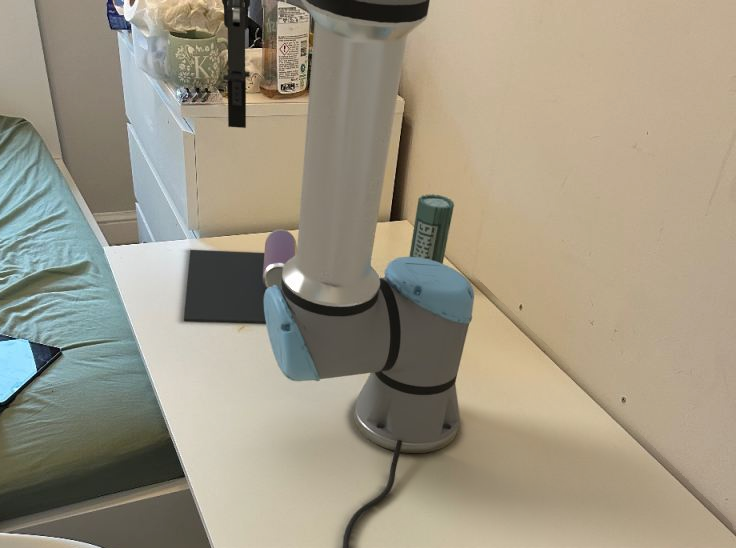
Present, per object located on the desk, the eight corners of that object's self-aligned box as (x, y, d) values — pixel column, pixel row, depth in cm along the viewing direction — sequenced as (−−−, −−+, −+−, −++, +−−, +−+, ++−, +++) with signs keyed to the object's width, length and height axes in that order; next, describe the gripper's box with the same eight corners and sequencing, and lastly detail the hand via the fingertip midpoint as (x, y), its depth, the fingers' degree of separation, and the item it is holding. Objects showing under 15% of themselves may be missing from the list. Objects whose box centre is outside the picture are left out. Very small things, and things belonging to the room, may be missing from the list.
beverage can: (285, 258, 126) (287, 222, 136) (255, 273, 127) (259, 237, 138) (302, 287, 129) (302, 250, 140) (273, 301, 131) (275, 264, 142)
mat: (292, 324, 125) (292, 322, 124) (183, 320, 122) (183, 318, 122) (284, 255, 143) (284, 253, 143) (190, 251, 140) (190, 249, 140)
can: (442, 278, 143) (458, 200, 132) (431, 290, 138) (446, 210, 128) (414, 269, 144) (427, 191, 134) (401, 281, 140) (414, 201, 130)
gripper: (264, -54, 95) (262, 141, 111) (262, -68, 104) (260, 114, 120) (205, -60, 94) (211, 138, 110) (208, -74, 103) (213, 111, 119)
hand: (237, 125), depth 115 cm, fingers closed
